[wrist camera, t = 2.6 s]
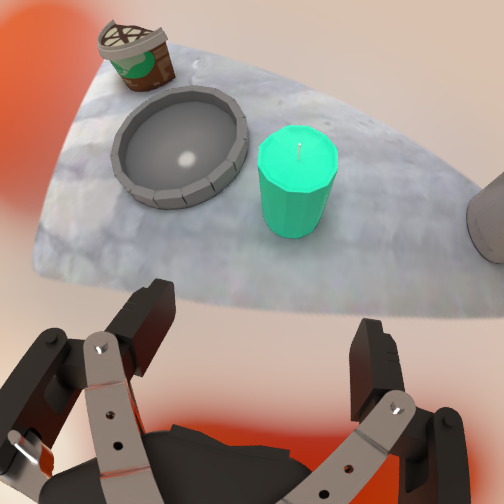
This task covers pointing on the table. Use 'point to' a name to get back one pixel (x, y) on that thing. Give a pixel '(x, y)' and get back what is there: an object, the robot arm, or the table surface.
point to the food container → (137, 55)
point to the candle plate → (180, 147)
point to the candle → (295, 179)
